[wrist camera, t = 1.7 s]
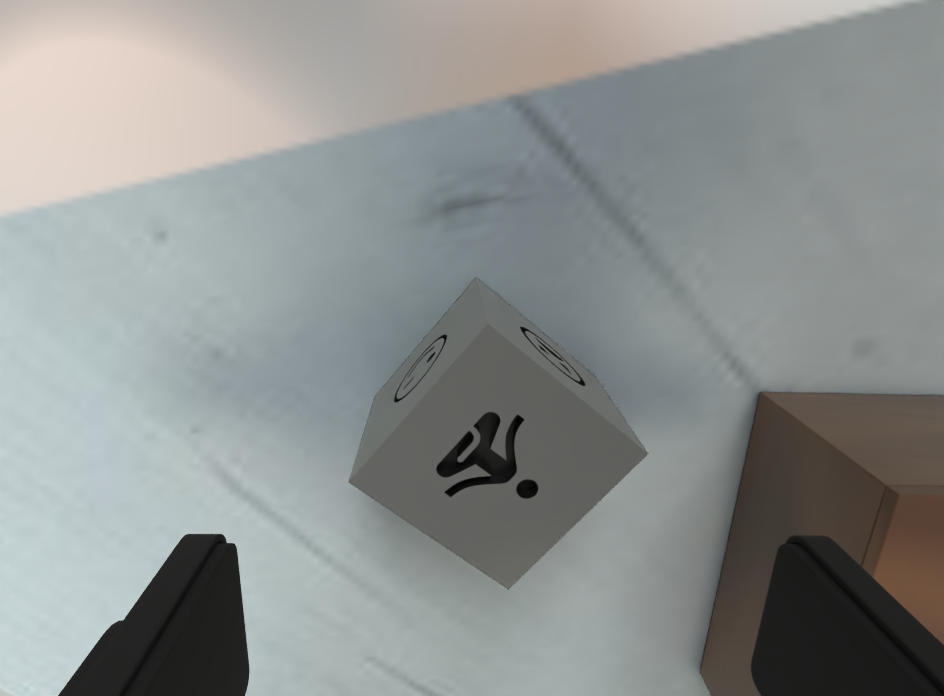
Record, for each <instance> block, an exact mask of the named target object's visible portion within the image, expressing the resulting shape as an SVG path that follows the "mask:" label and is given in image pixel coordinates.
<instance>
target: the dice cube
mask: <svg viewBox="0 0 944 696" xmlns="http://www.w3.org/2000/svg"><path fill="white" fill-rule="evenodd" d="M647 454H648V452H647V451H646V450H645V448H644V447H643V445H642V444H641V442H640V441H639V439H638V438H637V436H636V435H635V433H634V432H633V430H632V429H631V428H630V426H629V425H628V423H627V422H626V420H625V419H624V417H623V416H622V414H621V413H620V411H619V410H618V408H617V407H616V406H615V404H614V403H613V401H612V400H611V398H610V397H609V395H608V394H607V392H606V391H605V389H604V388H603V386H602V385H601V384H600V382H599V381H598V379H597V378H596V376H595V375H593V374H592V373H591V372H590V371H589V370H587V369H586V368H585V367H584V366H583V365H581V364H580V363H579V362H578V361H577V360H575V359H574V358H573V357H572V356H571V355H569V354H568V353H567V352H566V351H565V350H563V349H562V348H561V347H560V346H559V345H557V344H556V343H555V342H554V341H553V340H551V339H550V338H549V337H548V336H546V335H545V334H544V333H543V332H542V331H540V330H539V329H538V328H537V327H536V326H534V325H533V324H532V323H531V322H530V321H528V320H527V319H526V318H525V317H524V316H522V315H521V314H520V313H519V312H518V311H516V310H515V309H514V308H513V307H512V306H510V305H509V304H508V303H507V302H506V301H504V300H503V299H502V298H501V297H500V296H498V295H497V294H496V293H495V292H493V291H492V290H491V289H490V288H489V287H487V286H486V285H485V284H484V283H483V282H481V281H480V280H479V279H478V278H477V277H476V278H475V279H474V281H473V282H472V283H471V284H470V285H469V287H468V288H467V289H466V290H465V291H464V292H463V294H462V295H461V296H460V297H459V298H458V299H457V301H456V302H455V303H454V304H453V305H452V306H451V308H450V309H449V310H448V311H447V312H446V314H445V315H444V316H443V317H442V318H441V319H440V321H439V322H438V323H437V324H436V325H435V326H434V328H433V329H432V330H431V331H430V332H429V334H428V335H427V336H426V337H425V338H424V339H423V341H422V342H421V343H420V344H419V345H418V346H417V348H416V349H415V350H414V351H413V352H412V353H411V355H410V356H409V357H408V358H407V359H406V361H405V362H404V363H403V364H402V365H401V366H400V368H399V369H398V370H397V371H396V372H395V373H394V375H393V376H392V377H391V378H390V379H389V380H388V382H387V383H386V384H385V385H384V386H383V388H382V389H381V390H380V391H379V392H378V393H377V395H376V396H375V397H374V400H373V404H372V407H371V410H370V413H369V417H368V420H367V423H366V426H365V430H364V433H363V436H362V439H361V443H360V446H359V449H358V453H357V456H356V459H355V462H354V466H353V469H352V472H351V475H350V479H349V483H350V484H352V485H353V486H355V487H356V488H358V489H359V490H361V491H362V492H364V493H365V494H367V495H368V496H370V497H371V498H373V499H374V500H376V501H377V502H379V503H380V504H382V505H383V506H385V507H386V508H388V509H389V510H391V511H392V512H394V513H395V514H397V515H398V516H400V517H401V518H403V519H404V520H406V521H407V522H408V523H410V524H411V525H413V526H414V527H416V528H417V529H419V530H420V531H422V532H423V533H425V534H426V535H428V536H429V537H431V538H432V539H434V540H435V541H437V542H438V543H440V544H441V545H443V546H444V547H446V548H447V549H449V550H450V551H452V552H453V553H455V554H456V555H458V556H459V557H461V558H462V559H464V560H465V561H467V562H468V563H470V564H471V565H473V566H474V567H476V568H477V569H479V570H480V571H482V572H483V573H484V574H486V575H487V576H489V577H490V578H492V579H493V580H495V581H496V582H498V583H499V584H501V585H502V586H504V587H505V588H507V589H509V588H510V587H511V586H512V585H513V584H514V583H515V582H516V581H518V580H519V579H520V578H521V577H522V576H523V575H524V574H525V573H526V572H527V571H528V570H529V569H530V568H531V567H532V566H533V565H534V564H535V563H536V562H537V561H538V560H539V559H540V558H541V557H542V556H543V555H544V554H545V553H546V552H547V551H548V550H549V549H551V548H552V547H553V546H554V545H555V544H556V543H557V542H558V541H559V540H560V539H561V538H562V537H563V536H564V535H565V534H566V533H567V532H568V531H569V530H570V529H571V528H572V527H573V526H574V525H575V524H576V523H577V522H578V521H579V520H580V519H581V518H582V517H584V516H585V515H586V514H587V513H588V512H589V511H590V510H591V509H592V508H593V507H594V506H595V505H596V504H597V503H598V502H599V501H600V500H601V499H602V498H603V497H604V496H605V495H606V494H607V493H608V492H609V491H610V490H611V489H612V488H613V487H614V486H615V485H617V484H618V483H619V482H620V481H621V480H622V479H623V478H624V477H625V476H626V475H627V474H628V473H629V472H630V471H631V470H632V469H633V468H634V467H635V466H636V465H637V464H638V463H639V462H640V461H641V460H642V459H643V458H644V457H645V456H646V455H647Z"/></svg>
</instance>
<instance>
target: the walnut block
mask: <svg viewBox="0 0 944 696" xmlns="http://www.w3.org/2000/svg"><path fill="white" fill-rule="evenodd" d="M794 535H824V536H828V537H830V538H831V539H832V540H834V541H835V542H836V543H837V544H838V545H839V546H840V547H841V548H842V549H843V550H844V551H845V552H846V553H847V554H848V555H850V556H851V557H852V558H853V559H854V560H855V561H856V562H857V563H858V564H859V565H860V566H861V567H862V568H863V569H864V570H865V571H866V572H867V573H868V574H870V575H871V576H872V577H873V578H874V579H875V580H876V581H877V582H878V583H879V584H880V585H881V586H882V587H883V588H884V589H885V590H886V591H887V592H888V593H890V594H891V595H892V596H893V597H894V598H895V599H896V600H897V601H898V602H899V603H900V604H901V605H902V606H903V607H904V608H905V609H906V610H907V611H908V612H910V613H911V614H912V615H913V616H914V617H915V618H916V619H917V620H918V621H919V622H920V623H921V624H922V625H923V626H924V627H925V628H926V629H927V630H928V631H929V632H931V633H932V634H933V635H934V636H935V637H936V638H937V639H938V640H939V641H940V642H941V643H942V644H943V645H944V396H936V395H883V394H830V393H778V392H761V393H760V396H759V401H758V406H757V410H756V415H755V420H754V424H753V429H752V433H751V438H750V443H749V447H748V452H747V457H746V461H745V466H744V471H743V475H742V480H741V485H740V489H739V494H738V498H737V503H736V508H735V512H734V517H733V522H732V526H731V531H730V536H729V540H728V545H727V550H726V554H725V559H724V563H723V568H722V573H721V577H720V582H719V587H718V591H717V596H716V601H715V605H714V610H713V615H712V619H711V624H710V628H709V633H708V638H707V642H706V647H705V652H704V656H703V661H702V666H701V670H700V674H701V676H702V678H703V680H704V682H705V684H706V686H707V688H708V690H709V692H710V694H711V696H761V695H760V693H759V692H758V690H757V688H756V686H755V684H754V681H753V678H752V674H751V660H752V656H753V652H754V648H755V643H756V639H757V635H758V631H759V626H760V622H761V618H762V614H763V609H764V605H765V601H766V596H767V592H768V588H769V584H770V579H771V575H772V571H773V567H774V562H775V558H776V554H777V550H778V548H779V547H780V545H782V544H785V543H786V541H787V539H788V538H789V537H790V536H794Z"/></svg>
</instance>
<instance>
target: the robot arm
mask: <svg viewBox="0 0 944 696" xmlns="http://www.w3.org/2000/svg"><path fill="white" fill-rule="evenodd" d="M751 674H752V678H753V681H754V684H755V686H756V688H757V690H758V692H759V693H760V695H761V696H944V645H943V644H942V643H941V642H940V641H939V640H938V639H937V638H936V637H935V636H934V635H933V634H932V633H931V632H929V631H928V630H927V629H926V628H925V627H924V626H923V625H922V624H921V623H920V622H919V621H918V620H917V619H916V618H915V617H914V616H913V615H912V614H911V613H910V612H908V611H907V610H906V609H905V608H904V607H903V606H902V605H901V604H900V603H899V602H898V601H897V600H896V599H895V598H894V597H893V596H892V595H891V594H890V593H888V592H887V591H886V590H885V589H884V588H883V587H882V586H881V585H880V584H879V583H878V582H877V581H876V580H875V579H874V578H873V577H872V576H871V575H870V574H868V573H867V572H866V571H865V570H864V569H863V568H862V567H861V566H860V565H859V564H858V563H857V562H856V561H855V560H854V559H853V558H852V557H851V556H850V555H848V554H847V553H846V552H845V551H844V550H843V549H842V548H841V547H840V546H839V545H838V544H837V543H836V542H835V541H834V540H832V539H831V538H830V537H828V536H824V535H794V536H790V537H789V538H788V539H787V541H786V543H785V544H782V545H780V547H779V548H778V550H777V554H776V558H775V562H774V567H773V571H772V575H771V579H770V584H769V588H768V592H767V596H766V601H765V605H764V609H763V614H762V618H761V622H760V626H759V631H758V635H757V639H756V643H755V648H754V652H753V656H752V660H751ZM248 680H249V661H248V651H247V642H246V632H245V623H244V613H243V603H242V594H241V584H240V575H239V565H238V555H237V548H236V546H235V544H233V543H226V539H225V537H224V535H222V534H187V535H185V536H184V537H183V538H182V539H181V540H180V542H179V543H178V544H177V546H176V547H175V549H174V550H173V551H172V553H171V554H170V556H169V557H168V558H167V560H166V561H165V563H164V564H163V566H162V567H161V568H160V570H159V571H158V573H157V574H156V575H155V577H154V578H153V580H152V581H151V582H150V584H149V585H148V587H147V588H146V589H145V591H144V592H143V594H142V595H141V596H140V598H139V599H138V601H137V602H136V603H135V605H134V606H133V608H132V609H131V610H130V612H129V613H128V615H127V616H126V617H125V619H124V620H123V621H118V622H116V623H114V624H113V625H111V626H110V627H109V629H108V630H107V631H106V632H105V633H104V634H103V635H102V637H101V638H100V640H99V641H98V642H97V644H96V645H95V646H94V648H93V649H92V650H91V652H90V653H89V655H88V656H87V657H86V659H85V660H84V661H83V663H82V664H81V665H80V667H79V668H78V670H77V671H76V672H75V674H74V675H73V676H72V678H71V679H70V680H69V682H68V683H67V685H66V686H65V687H64V689H63V690H62V691H61V693H60V694H59V695H58V696H245V693H246V690H247V686H248Z"/></svg>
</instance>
